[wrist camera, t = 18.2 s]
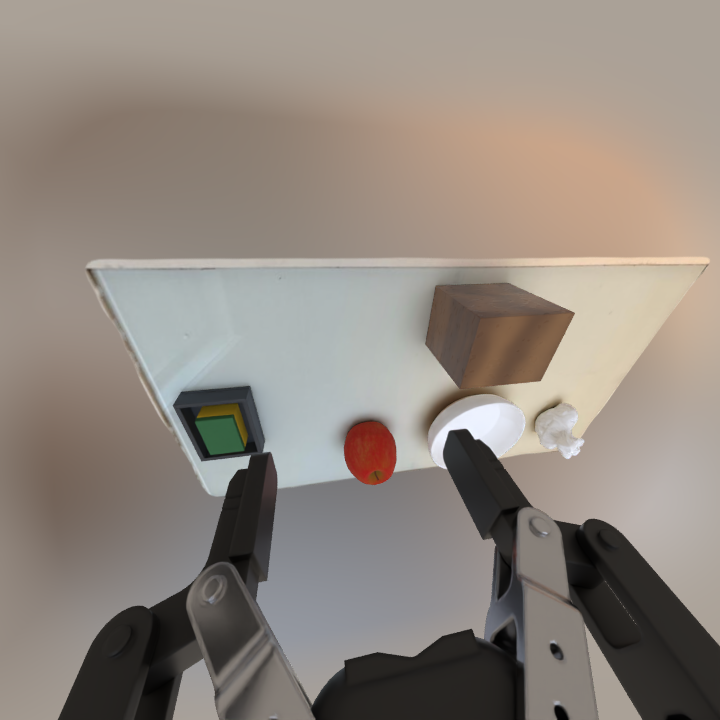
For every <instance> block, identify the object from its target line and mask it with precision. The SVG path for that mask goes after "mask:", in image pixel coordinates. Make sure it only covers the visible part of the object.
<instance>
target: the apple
mask: <svg viewBox="0 0 720 720" xmlns="http://www.w3.org/2000/svg"><path fill="white" fill-rule="evenodd" d="M344 456H345V461H346V464H347V467H348V469H349V470H350V472H351V473H352V474H353V475H354V476H355V477H356V478H357V479H358V480H359V481H361V482H363V483H365V484H371V485H376V484H380V483H383V482H385V481H386V480H388V479H389V478H390V477H391V475H392V473H393V471H394V468H395V464H396V445H395V440H394V438H393V436H392V434H391V433H390V432H389V430H388V429H387V428H386V427H385V426H384V425H383V424H381V423H378V422H370V421H368V422H364V423H360V424H358V425H356V426H354V427H353V428H352V429H351V430H350V431H349V432H348V434H347V437H346V440H345V445H344Z"/></svg>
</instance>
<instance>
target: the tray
mask: <svg viewBox="0 0 720 720" xmlns="http://www.w3.org/2000/svg"><path fill="white" fill-rule="evenodd" d="M232 403H238V406H239V409H240V412H241V415H242V418H243V421H244V424H245V427H246V430H247V433H248V438H247V442H246V446H245V450H244V451H239V452H231V453H223V454H215V455H210V453H209V451H208V449H207V447H206V445H205V443H204V440H203V438H202V436H201V434H200V432H199V430H198V428H197V426H196V424H195V420H196V418H197V416H198V414H199V412H200V410H201V408H202V406H211V405H222V404H232ZM173 407H174V409H175V411H176V413H177V415H178V417H179V418H180V420H181V422H182V424H183V426H184V428H185V430H186V432H187V434H188V436H189V438H190V440H191V442H192V444H193V446H194V448H195V450H196V452H197V454H198V455H199V457H200V459H201V461H209V460H217V459H225V458H233V457H241V456H249V455H252V454H258V453H263V448H264V443H265V439H264V435H263V432H262V428H261V424H260V421H259V417H258V414H257V410H256V406H255V403H254V399H253V396H252V392H251V388H250V386H247V387H236V388H224V389H212V390H201V391H189V392H181V393H180V395H179V397H178V398H177V400H176V401H175V403H174V404H173Z"/></svg>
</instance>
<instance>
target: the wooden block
mask: <svg viewBox="0 0 720 720" xmlns="http://www.w3.org/2000/svg"><path fill="white" fill-rule="evenodd" d="M574 314H575V313H574V312H572V311H569V310H567V309H565V308H563V307H560V306H558V305H556V304H554V303H552V302H549V301H547V300H545V299H543V298H540V297H538V296H536V295H534V294H532V293H529V292H527V291H525V290H523V289H520V288H518V287H516V286H514V285H512V284H509V283H500V284H471V285H442V286H436V288H435V294H434V299H433V305H432V311H431V316H430V322H429V327H428V333H427V338H426V346H427V347H428V348H429V350H430V351H431V352H432V354H433V355H434V356H435V357H436V359H437V360H438V361H439V363H440V364H441V365H442V367H443V368H444V369H445V370H446V372H447V373H448V374H449V376H450V377H451V378H452V380H453V381H454V382H455V383H456V385H457V386H458V387H459V389H466V388H476V387H486V386H496V385H507V384H517V383H527V382H537V381H541V379H542V377H543V375H544V374H545V372H546V370H547V368H548V366H549V364H550V362H551V360H552V358H553V356H554V354H555V352H556V350H557V348H558V346H559V344H560V342H561V340H562V338H563V336H564V334H565V332H566V330H567V328H568V326H569V324H570V322H571V320H572V318H573V316H574Z"/></svg>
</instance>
